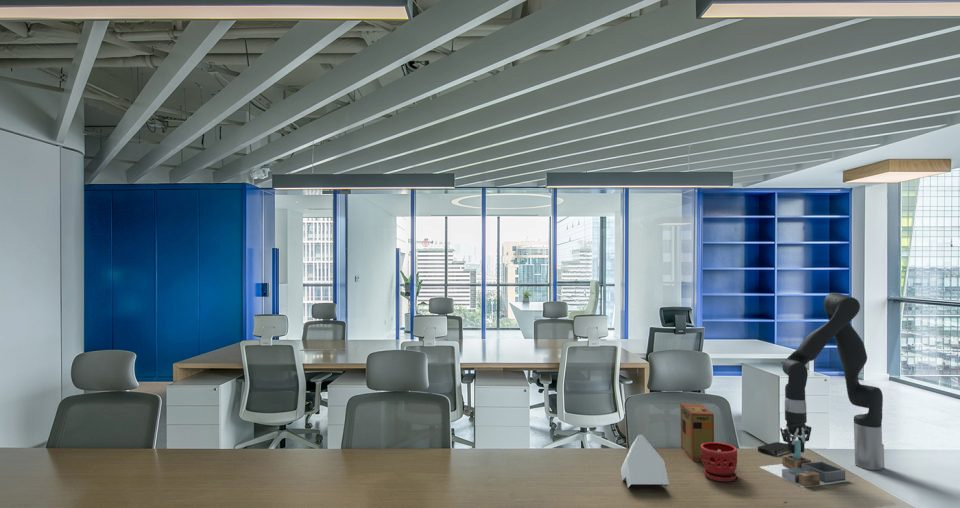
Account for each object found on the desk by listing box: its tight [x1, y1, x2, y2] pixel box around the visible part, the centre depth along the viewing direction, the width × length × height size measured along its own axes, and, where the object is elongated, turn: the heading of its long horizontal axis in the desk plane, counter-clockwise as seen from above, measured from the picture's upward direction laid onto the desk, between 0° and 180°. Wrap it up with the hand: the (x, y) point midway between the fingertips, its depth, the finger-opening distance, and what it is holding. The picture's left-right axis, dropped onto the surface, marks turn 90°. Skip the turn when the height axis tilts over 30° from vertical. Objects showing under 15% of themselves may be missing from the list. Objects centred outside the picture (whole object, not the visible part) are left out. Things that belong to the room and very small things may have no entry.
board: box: [759, 463, 848, 488], centre depth 199 cm, size 22×20×1 cm
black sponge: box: [757, 441, 790, 457], centre depth 225 cm, size 16×8×4 cm, turn 119°
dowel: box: [791, 438, 802, 460], centre depth 205 cm, size 3×3×11 cm
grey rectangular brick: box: [782, 467, 808, 484], centre depth 194 cm, size 8×6×3 cm
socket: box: [781, 454, 812, 469], centre depth 205 cm, size 7×7×4 cm
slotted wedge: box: [620, 434, 670, 489], centre depth 194 cm, size 14×11×18 cm
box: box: [679, 403, 715, 462], centre depth 224 cm, size 17×9×20 cm, turn 174°
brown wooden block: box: [799, 472, 821, 488], centre depth 189 cm, size 7×2×4 cm, turn 105°
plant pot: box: [701, 441, 738, 483], centre depth 199 cm, size 13×13×12 cm
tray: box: [801, 460, 846, 483], centre depth 196 cm, size 10×10×4 cm
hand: (796, 452), depth 205 cm, fingers open, 4 cm apart
